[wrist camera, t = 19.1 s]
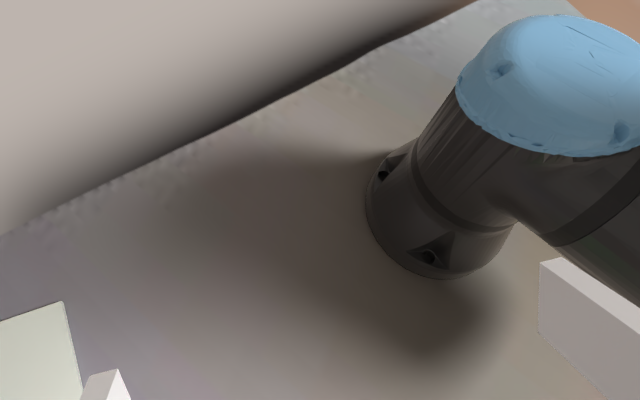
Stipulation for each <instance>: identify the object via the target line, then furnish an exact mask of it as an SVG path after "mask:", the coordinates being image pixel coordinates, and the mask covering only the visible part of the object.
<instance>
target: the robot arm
mask: <svg viewBox="0 0 640 400" xmlns="http://www.w3.org/2000/svg"><path fill="white" fill-rule="evenodd" d="M366 213H367V218H368V222H369V225H370V227H371V230H372V232H373V234H374V236H375V238H376V239H377V241H378V242H379V244H380V245H381V246H382V248H383V249H384V250H385V251H386V252H387V253H388V254H389V256H391V257H392V258H393V259H394V260H395V261H396V262H398V263H399V264H400V265H402V266H403V267H405V268H407V269H408V270H410V271H412V272H414V273H417V274H419V275H422V276H425V277H429V278H434V279H455V278H460V277H463V276H466V275H469V274H471V273H472V272H474V271H476V270H478V269H480V268H481V267H483V266H484V265H486V264H487V263H489V262H490V261H491V260H492V259H493V258H494V257H495V256H496V255H497V254H498V252H499V251H500V249H501V248H502V246H503V244H504V242H505V240H506V239H507V237H508V235H509V233H510V231H511V230H512V228H513V226H514V224H515V223H517V222H518V221H519V222H521V223H522V224H523V225H525V226H526V227H527V228H528V229H530V230H531V231H532V232H534V233H535V234H536V235H538V236H539V237H540V238H542V239H543V240H544V241H545V242H547V243H548V244H549V245H550V246H551V247H553V248H554V249H555V250H556V251H558V252H559V253H560V254H562V255H563V256H564V257H565V258H567V259H568V260H569V261H571V262H572V263H573V264H574V265H573V264H572V263H570V262H568V261H567V260H565V259H564V258H562V257H559V258H555V259H551V260H547V261H544V262H540V269H539V307H538V333H539V334H540V335H541V336H542V337H543V338H544V339H545V340H546V341H547V342H548V343H549V344H550V345H551V346H553V347H554V348H555V349H556V350H557V351H558V352H559V353H560V354H561V355H562V356H563V357H564V358H565V359H566V360H567V361H568V362H569V363H570V364H571V365H572V366H573V367H574V368H576V369H577V370H578V371H579V372H580V373H581V374H582V375H583V376H584V377H585V378H586V379H587V380H588V381H589V382H590V383H591V384H592V385H593V386H594V387H595V388H596V389H598V390H599V391H600V392H601V393H602V394H603V395H604V396H605V397H606V398H607V399H608V400H640V44H638V43H637V42H636V41H634V40H633V39H632V38H630V37H628V36H627V35H625V34H623V33H621V32H619V31H617V30H615V29H613V28H611V27H608V26H606V25H604V24H601V23H599V22H595V21H593V20H589V19H585V18H581V17H576V16H569V15H561V14H559V15H558V14H557V15H553V16H550V15H535V16H530V17H526V18H522V19H520V20H517V21H515V22H512V23H510V24H508V25H506V26H505V27H503V28H502V29H500V30H499V31H498V32H496V33H495V34H494V35H493V36H492V37H491V38H490V39H489V41H488V42H487V43H486V44H485V46H484V47H483V48H482V49H481V51H480V52H479V53H478V54H477V56H476V57H475V58H474V59H473V60H471V61H470V62H469V63H468V64H467V65H466V66H465V67H464V68H463V70H462V71H461V73H460V74H459V76H458V81H457V83H456V85H455V87H454V88H453V90H452V91H451V93H450V94H449V95H448V97H447V98H446V100H445V101H444V103H443V104H442V105H441V107H440V108H439V110H438V111H437V112H436V114H435V115H434V117H433V118H432V119H431V121H430V122H429V124H428V125H427V126H426V128H425V129H424V130H423V132H422V134H421V135H420V136H419V137H418V138H416V139H414V140H412V141H410V142H409V143H407V144H405V145H403V146H401V147H400V148H398V149H396V150H394V151H393V152H392V153H390V154H389V155H388V156H387V157H386V158H385V159H384V160H383V161H382V162H381V164H380V165H379V166H378V168H377V170H376V171H375V173H374V174H373V176H372V178H371V180H370V182H369V185H368V188H367V192H366ZM575 265H576V266H577V267H576V266H575ZM79 400H131V398H130V396H129V394H128V391H127V389H126V387H125V384H124V382H123V380H122V377H121V375H120V373H119V370H118V369H114V370H110V371H106V372H102V373H98V374H94V375H90V377H89V379H88V381H87V384H86V386H85V388H84V390H83V393H82V395H81V397H80V399H79Z"/></svg>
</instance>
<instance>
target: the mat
mask: <svg viewBox="0 0 640 400" xmlns="http://www.w3.org/2000/svg"><path fill="white" fill-rule="evenodd" d="M82 393H83V386H82V382H81V377H80V373H79V369H78V364H77V360H76V355H75V351H74V347H73V342H72V338H71V333H70V329H69V325H68V320H67V316H66V312H65V307H64V303H63V302H62V301H59V302H56V303H53V304H50V305H47V306H45V307H42V308H39V309H36V310H33V311H30V312H27V313H24V314H21V315H18V316H15V317H13V318H10V319H7V320H4V321H1V322H0V400H79V399H80V397H81V395H82Z"/></svg>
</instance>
